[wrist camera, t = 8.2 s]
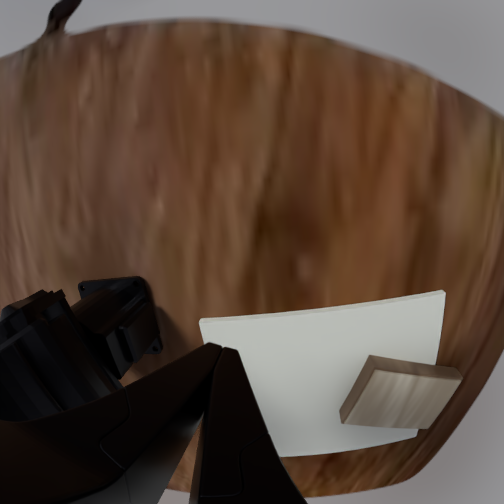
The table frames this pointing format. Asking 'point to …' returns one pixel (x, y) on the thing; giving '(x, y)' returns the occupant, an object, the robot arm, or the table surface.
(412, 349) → the mat
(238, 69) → the table surface
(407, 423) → the tile
